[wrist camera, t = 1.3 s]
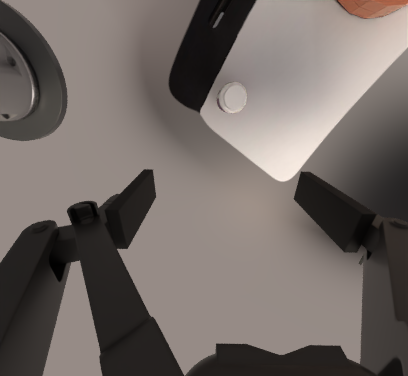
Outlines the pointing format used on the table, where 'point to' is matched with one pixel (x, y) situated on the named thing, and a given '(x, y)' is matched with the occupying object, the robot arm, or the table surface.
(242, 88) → the pill bottle
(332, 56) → the table surface
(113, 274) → the robot arm
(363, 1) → the bowl
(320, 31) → the table surface
